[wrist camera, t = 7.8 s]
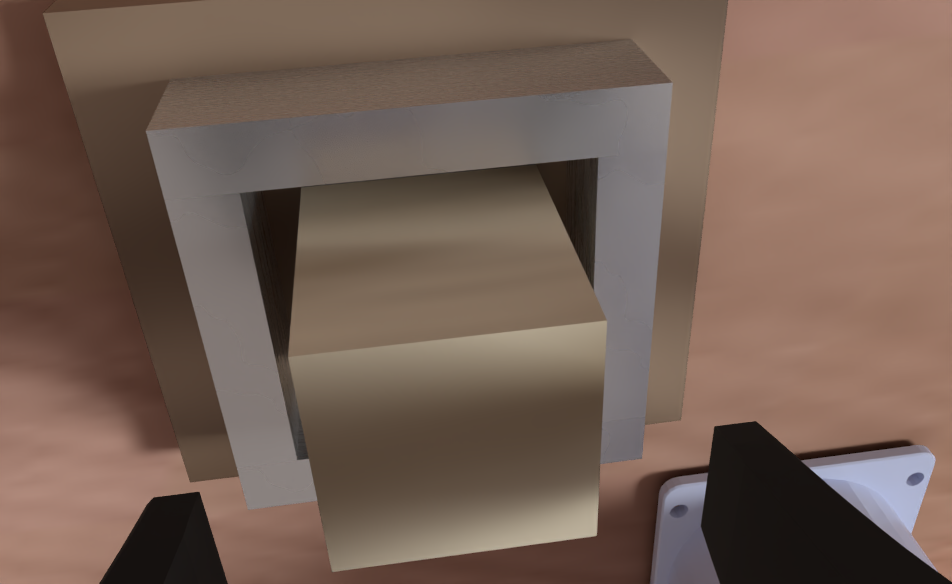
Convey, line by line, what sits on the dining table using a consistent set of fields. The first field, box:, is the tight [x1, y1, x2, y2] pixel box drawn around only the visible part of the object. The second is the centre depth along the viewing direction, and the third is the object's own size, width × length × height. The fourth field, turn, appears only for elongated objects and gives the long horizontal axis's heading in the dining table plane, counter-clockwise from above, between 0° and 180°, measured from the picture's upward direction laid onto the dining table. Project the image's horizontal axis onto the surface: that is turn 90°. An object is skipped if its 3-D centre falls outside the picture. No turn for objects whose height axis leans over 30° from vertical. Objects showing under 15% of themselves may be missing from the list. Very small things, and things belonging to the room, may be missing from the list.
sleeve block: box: [288, 164, 607, 572], centre depth 16 cm, size 4×4×6 cm
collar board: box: [43, 0, 728, 510], centre depth 18 cm, size 11×12×4 cm
